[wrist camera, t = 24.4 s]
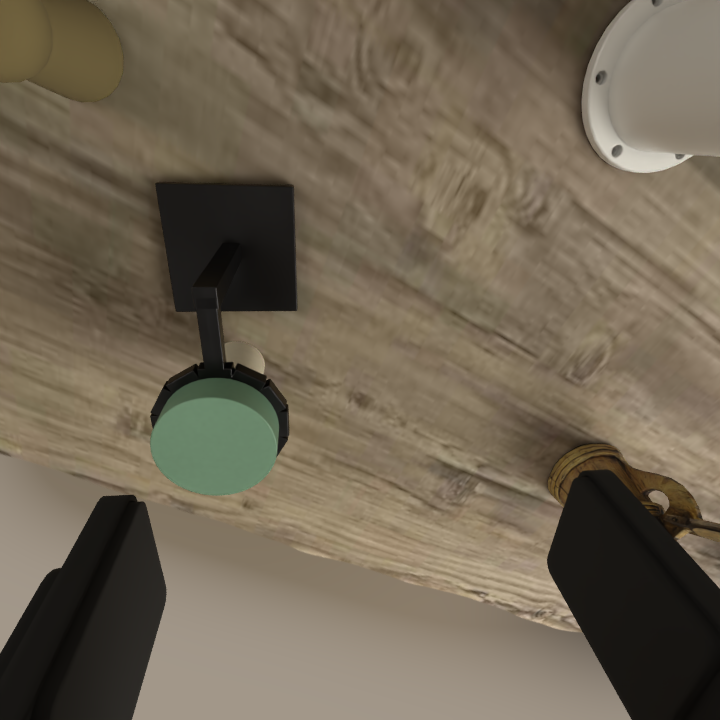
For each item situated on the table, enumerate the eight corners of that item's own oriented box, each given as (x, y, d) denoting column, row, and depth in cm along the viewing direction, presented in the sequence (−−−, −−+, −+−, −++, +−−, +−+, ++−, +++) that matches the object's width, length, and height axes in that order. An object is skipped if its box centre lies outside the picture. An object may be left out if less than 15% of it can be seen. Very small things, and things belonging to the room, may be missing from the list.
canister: (281, 322, 36) (274, 395, 26) (285, 401, 40) (280, 492, 30) (185, 323, 36) (138, 399, 25) (197, 403, 39) (161, 499, 29)
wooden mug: (665, 431, 51) (830, 567, 35) (583, 510, 55) (696, 663, 40) (614, 400, 48) (768, 533, 32) (531, 486, 53) (631, 641, 37)
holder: (293, 185, 35) (290, 209, 24) (299, 389, 43) (299, 474, 32) (158, 181, 33) (92, 205, 23) (192, 392, 42) (154, 481, 31)
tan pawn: (94, 123, 31) (1, 119, 22) (5, 51, 29) (-145, 11, 19) (141, 47, 30) (63, 7, 20) (51, -35, 27) (-88, -127, 18)
